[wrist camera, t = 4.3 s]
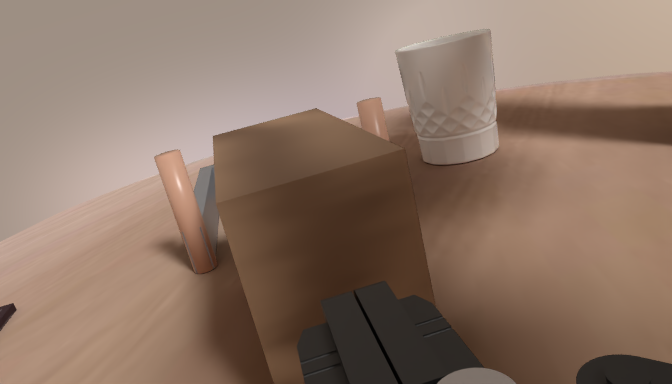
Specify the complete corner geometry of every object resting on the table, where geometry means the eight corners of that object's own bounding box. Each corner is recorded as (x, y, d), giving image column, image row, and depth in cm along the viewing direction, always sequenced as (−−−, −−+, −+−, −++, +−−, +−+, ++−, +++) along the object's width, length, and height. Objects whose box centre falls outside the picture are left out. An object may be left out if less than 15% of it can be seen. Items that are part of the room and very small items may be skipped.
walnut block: (350, 248, 32) (316, 108, 29) (450, 383, 18) (404, 148, 16) (257, 278, 31) (213, 135, 28) (292, 442, 18) (215, 203, 15)
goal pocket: (346, 158, 53) (329, 82, 51) (406, 213, 35) (383, 98, 32) (207, 196, 51) (182, 120, 49) (193, 276, 33) (152, 159, 31)
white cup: (432, 175, 41) (409, 51, 38) (405, 155, 49) (385, 50, 46) (522, 150, 42) (507, 27, 39) (482, 135, 49) (467, 30, 46)
